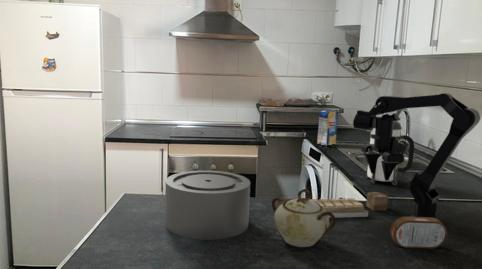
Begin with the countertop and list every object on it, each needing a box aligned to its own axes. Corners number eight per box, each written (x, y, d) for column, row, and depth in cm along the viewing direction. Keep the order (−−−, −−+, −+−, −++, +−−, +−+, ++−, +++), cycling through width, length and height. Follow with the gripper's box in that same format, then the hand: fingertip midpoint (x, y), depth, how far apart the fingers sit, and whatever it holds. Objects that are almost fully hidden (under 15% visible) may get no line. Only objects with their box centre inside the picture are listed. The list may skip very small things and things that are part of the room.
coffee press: (387, 188, 174) (394, 116, 169) (356, 179, 187) (362, 112, 182) (411, 183, 184) (418, 115, 179) (380, 175, 197) (386, 111, 192)
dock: (367, 216, 139) (368, 211, 139) (313, 218, 135) (314, 212, 135) (355, 207, 148) (355, 202, 147) (304, 208, 144) (304, 203, 144)
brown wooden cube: (386, 210, 146) (388, 196, 146) (373, 210, 145) (374, 196, 144) (379, 205, 151) (380, 191, 151) (366, 206, 150) (367, 192, 150)
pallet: (364, 211, 140) (364, 204, 139) (315, 212, 136) (316, 206, 136) (354, 204, 146) (354, 198, 146) (308, 205, 143) (308, 199, 143)
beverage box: (316, 145, 267) (319, 111, 263) (326, 144, 274) (328, 110, 271) (326, 147, 262) (328, 112, 258) (335, 145, 270) (338, 111, 266)
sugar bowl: (344, 243, 117) (349, 190, 114) (319, 261, 105) (324, 203, 103) (284, 224, 128) (286, 177, 126) (255, 239, 117) (258, 186, 114)
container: (158, 213, 134) (158, 172, 132) (231, 206, 143) (233, 168, 141) (174, 244, 111) (175, 196, 109) (261, 234, 120) (263, 190, 118)
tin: (441, 245, 118) (444, 216, 117) (447, 250, 115) (450, 220, 114) (388, 244, 118) (391, 215, 116) (392, 248, 114) (395, 219, 113)
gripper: (421, 137, 137) (416, 183, 139) (390, 128, 155) (386, 170, 157) (390, 137, 134) (385, 184, 137) (362, 128, 153) (358, 170, 155)
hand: (379, 176), depth 147 cm, fingers open, 9 cm apart
